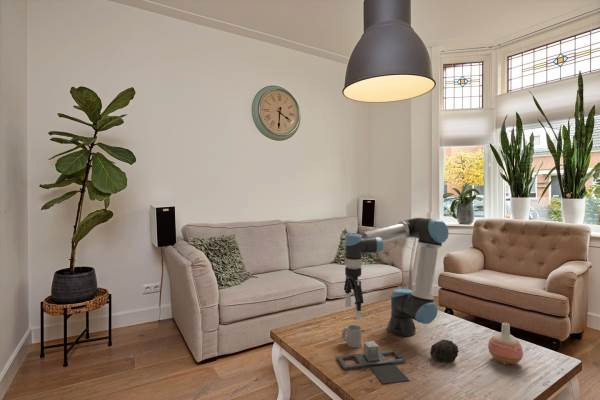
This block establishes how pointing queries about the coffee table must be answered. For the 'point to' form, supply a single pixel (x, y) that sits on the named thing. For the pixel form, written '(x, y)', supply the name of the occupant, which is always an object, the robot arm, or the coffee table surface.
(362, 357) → the rail
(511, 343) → the vase
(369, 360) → the grey rectangular block
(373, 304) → the coffee table surface
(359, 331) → the cup
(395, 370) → the rubber mat
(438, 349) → the rock
